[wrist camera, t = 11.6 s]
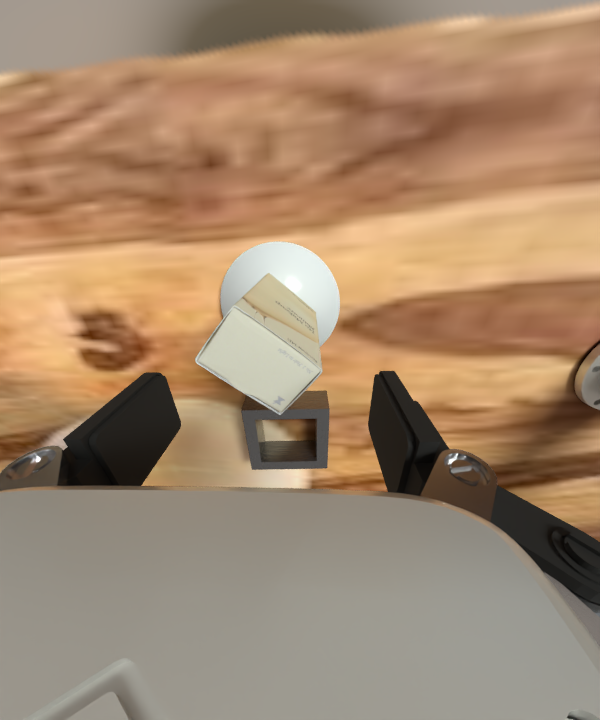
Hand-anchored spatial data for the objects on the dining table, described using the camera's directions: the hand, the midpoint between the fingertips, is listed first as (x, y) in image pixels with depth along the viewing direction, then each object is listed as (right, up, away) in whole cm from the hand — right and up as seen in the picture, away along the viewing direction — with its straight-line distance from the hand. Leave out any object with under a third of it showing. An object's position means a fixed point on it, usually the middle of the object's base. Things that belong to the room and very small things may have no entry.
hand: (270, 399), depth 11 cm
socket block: (0, -7, +21) cm, 23 cm away
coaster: (-1, +8, +14) cm, 16 cm away
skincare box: (-1, +7, +13) cm, 15 cm away
